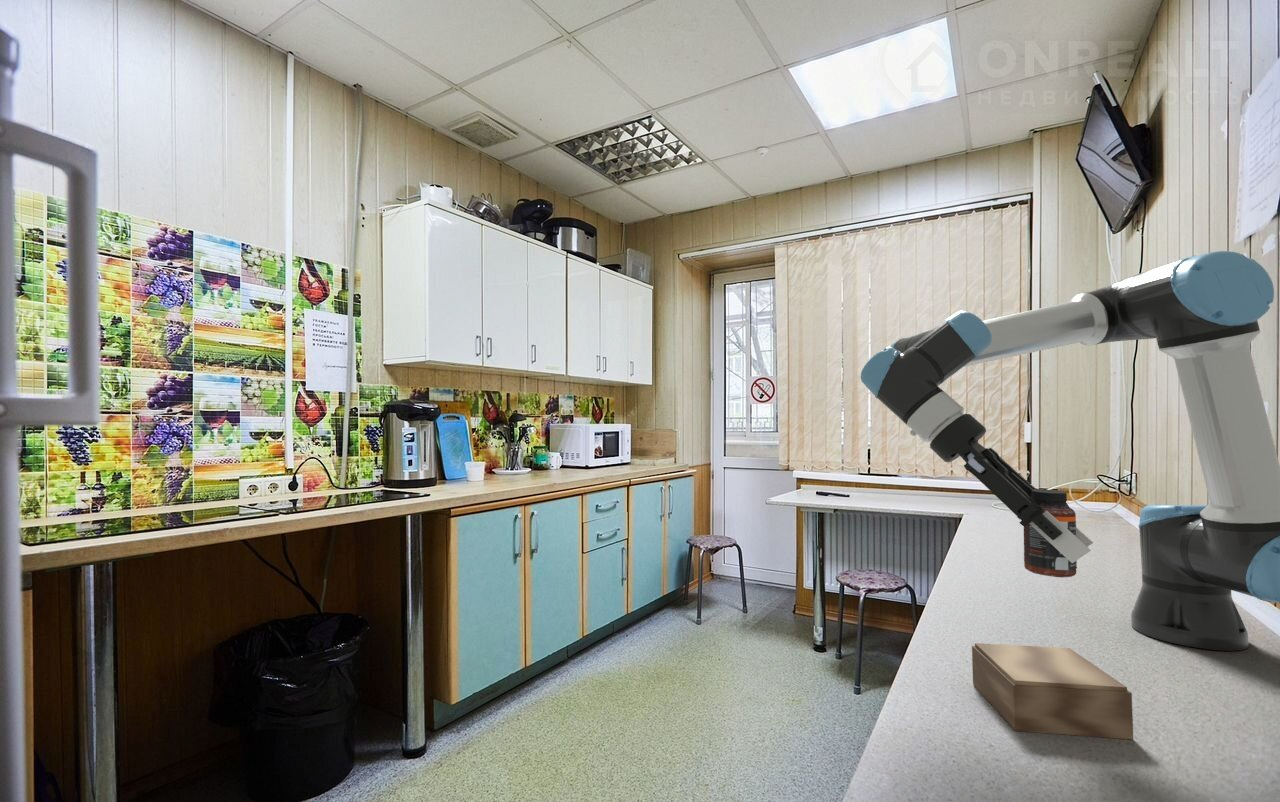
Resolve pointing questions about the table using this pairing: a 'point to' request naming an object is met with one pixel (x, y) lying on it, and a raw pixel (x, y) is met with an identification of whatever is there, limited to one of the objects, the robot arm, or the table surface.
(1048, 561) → the supplement bottle
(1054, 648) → the block
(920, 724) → the table surface
